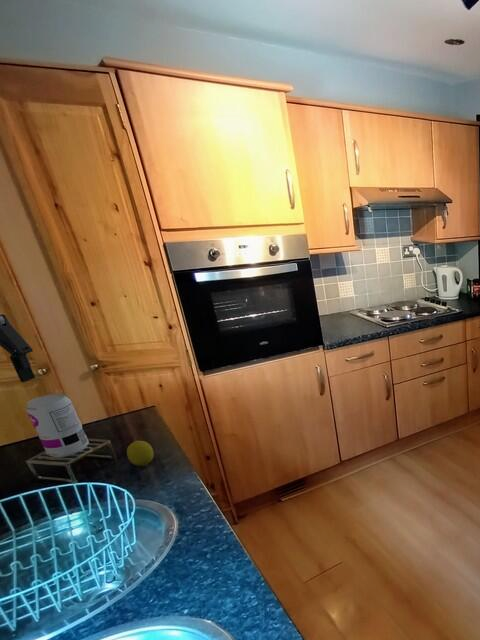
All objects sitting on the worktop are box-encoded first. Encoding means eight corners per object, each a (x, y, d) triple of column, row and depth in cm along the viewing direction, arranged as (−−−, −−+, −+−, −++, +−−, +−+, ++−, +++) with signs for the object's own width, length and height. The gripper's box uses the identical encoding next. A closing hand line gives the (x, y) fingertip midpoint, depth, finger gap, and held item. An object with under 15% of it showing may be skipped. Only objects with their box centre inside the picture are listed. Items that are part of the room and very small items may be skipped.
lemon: (156, 457, 129) (147, 433, 126) (158, 466, 125) (148, 441, 122) (132, 464, 126) (122, 440, 123) (133, 473, 122) (122, 448, 119)
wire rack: (36, 483, 118) (24, 461, 115) (81, 458, 129) (72, 437, 126) (77, 487, 117) (66, 464, 114) (119, 461, 127) (110, 440, 125)
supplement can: (47, 462, 115) (21, 409, 108) (49, 448, 120) (25, 398, 114) (89, 451, 119) (66, 400, 113) (90, 438, 125) (68, 389, 119)
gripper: (29, 293, 106) (64, 375, 115) (-63, 287, 109) (-23, 369, 117) (-8, 300, 99) (32, 387, 108) (-105, 294, 102) (-59, 380, 110)
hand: (4, 378), depth 113 cm, fingers open, 13 cm apart
